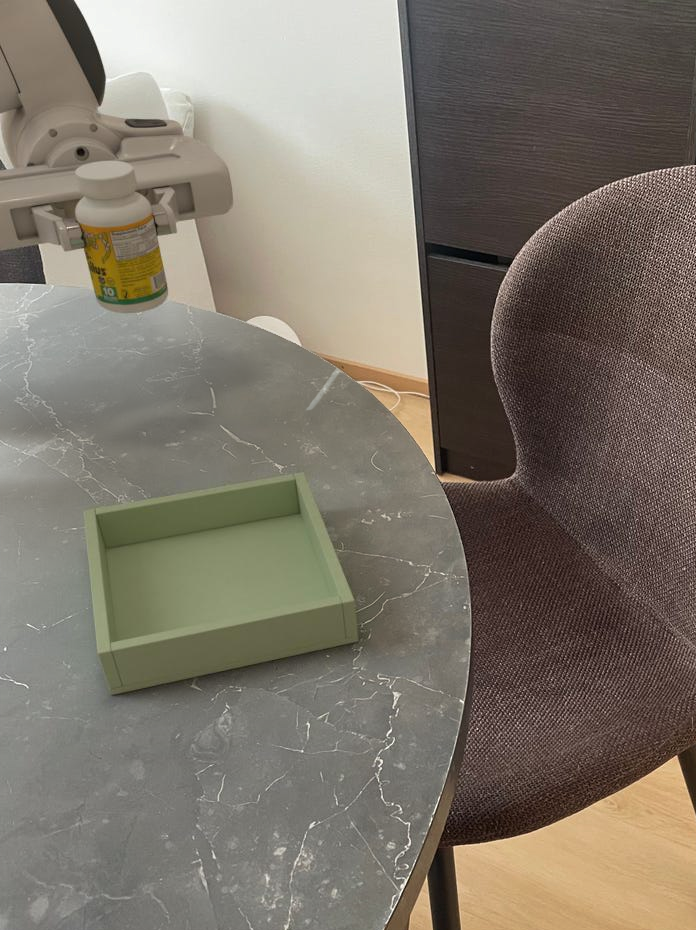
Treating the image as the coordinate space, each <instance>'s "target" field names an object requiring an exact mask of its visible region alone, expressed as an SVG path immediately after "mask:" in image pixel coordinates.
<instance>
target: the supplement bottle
mask: <svg viewBox="0 0 696 930" xmlns="http://www.w3.org/2000/svg"><path fill="white" fill-rule="evenodd" d="M75 175H76V180H77V185H78V189H79V190H80V192H81V194H82V195H84V196H85V197H83V198H82V199H81V200H80V201H79V202H78V204H77V206H76V209H75V215H76V220H77V222H78V223H79V225H80V228H81V231H82V239H83V240H84V244H85V248H83V251H84V255H85V256H84V257H85V259H86V262H87V267H88V272H89V275H90V280H91V283H92V288H93V291H94V292H93V293H94V295H95V299H96V301H97V303H98V305H99V306H100V307H102V308H103V309H104V310H107V311H110V312H113V313H118V314H136V313H143V312H147V311H151V310H153V309H155V308H158V307H159V306H161V305H162V304H164V302H165V301H166V300H167V298H168V296H169V287H168V282H167V277H166V272H165V267H164V262H163V258H162V253H161V248H160V243H159V236H157V232H156V227H155V222H154V217H153V213H152V208H151V205H150V203H149V201H148V200H147V199H146V198H145V197H144V196H143V195H141V194H139V193H137V192H135V190H136V188H137V181H136V177H135V173H134V169H133V166H132V165H130V164H128V163H125V162H120V161H99V162H93V163H89V164H85V165H83V166H80V167H79V168H77V169H76V171H75Z"/></svg>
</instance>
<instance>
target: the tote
mask: <svg viewBox="0 0 696 930" xmlns="http://www.w3.org/2000/svg"><path fill="white" fill-rule="evenodd" d="M82 514H83V521H84V523H83V524H84V531H85V541H86V551H87V560H88V572H89V581H90V591H91V601H92V611H93V622H94V630H95V641H96V650H97V652H96V653H97V656H98V659H99V662H100V665H101V669H102V672H103V675H104V677H105V681H106V684H107V687H108V689H109V693H110V695H111V696H115V695H119V694H122V693H128V692H133V691H137V690H142V689H147V688H150V687H156V686H160V685H164V684H165V685H166V684H169V683H173V682H178V681H179V682H180V681H183V680H188V679H192V678H197V677H201V676H205V675H210V674H215V673H220V672H225V671H229V670H235V669H239V668H243V667H248V666H253V665H257V664H261V663H266V662H270V661H274V660H279V659H285V658H289V657H294V656H298V655H302V654H307V653H313V652H316V651H321V650H326V649H331V648H335V647H339V646H344V645H349V644H353V643H358V642H359V632H358V631H359V630H358V619H357V609H356V601H355V598H354V595H353V592H352V590H351V588H350V585H349V583H348V580H347V578H346V575H345V572H344V570H343V566H342V565H341V562H340V560H339V556H338V554H337V551H336V550H335V549H336V548H335V546H334V544H333V541H332V539H331V537H330V534H329V531H328V530H327V526H326V524H325V521H324V519H323V517H322V514H321V511H320V508H319V506H318V504H317V500H316V498H315V496H314V493H313V491H312V488H311V486H310V483H309V481H308V478H307V476H306V473H305V472H304V471H302V472H296V473H291V474H285V475H278V476H272V477H267V478H262V479H255V480H250V481H244V482H238V483H232V484H227V485H222V486H221V485H220V486H216V487H209V488H204V489H198V490H193V491H187V492H179V493H174V494H169V495H165V496H164V495H163V496H158V497H151V498H147V499H141V500H135V501H134V500H133V501H129V502H124V503H119V504H117V503H116V504H112V505H106V506H100V507H96V508H89V509H84V510H83V513H82Z"/></svg>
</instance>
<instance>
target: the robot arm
mask: <svg viewBox="0 0 696 930" xmlns="http://www.w3.org/2000/svg"><path fill="white" fill-rule="evenodd" d="M106 83H107V76H106V71H105V67H104V64H103V60H102V57H101V53H100V51H99V47H98V45H97V42H96V40H95V37H94V35H93V33H92V31H91V29H90V26H89V23H88V22H87V19H85V16H84V14H83V13H82V10H81V9H80V7H79V5H78V4H77V2H76V1H75V0H0V132H1V138H2V142H3V146H4V149H5V151H6V154H7V157H8V159H9V162H11V165H12V167H13V168H8V169H0V251H7V250H12V249H19V248H25V247H31V246H37V245H42V244H52V245H55V246H60V247H61V248H62V250H63V251H64V252H72V251H77V250H82V249H83V250H84V248H85V244H84V240H83V239H82V231H81V228H80V225H79V223H78V222H77V220H76V215H75V209H76V206H77V204H78V202H79V201H80V200H81V199H82V198H83V197H85V196H84V195H82V194H81V192H80V190H79V189H78V185H77V180H76V175H75V171H76V169H77V168H79V167H80V166H83V165H85V164H89V163H93V162H99V161H120V162H125V163H128V164H130V165H132V166H133V169H134V173H135V177H136V181H137V188H136V190H135V192H137V193H139V194H141V195H143V196H144V197H145V198H146V199H147V200H148V201H149V203H150V205H151V208H152V213H153V217H154V222H155V227H156V232H157V237H162V236H168V235H173V234H177V233H178V228H177V223H178V222H185V221H190V220H196V219H197V220H198V219H202V218H203V219H204V218H209V217H215V216H223V215H226V214H228V213H229V212H230V211H231V210H232V209H233V208H234V193H233V185H232V181H231V174H230V171H229V168H228V165H227V163H226V161H224V159H223V158H222V157H220V156H219V154H217V152H216V151H214V150H213V149H212V148H210V146H208V145H207V144H205V143H204V142H202V141H201V140H199V139H197V138H194V137H191V136H188V135H185V133H184V130H183V127H182V125H181V124H180V123H179V122H178V121H176V120H175V119H159V118H127V117H125V118H124V117H118V116H113V115H110V114H109V115H108V114H104V113H101V111H100V109H99V107H102V104H103V101H104V97H105V92H106Z"/></svg>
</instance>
